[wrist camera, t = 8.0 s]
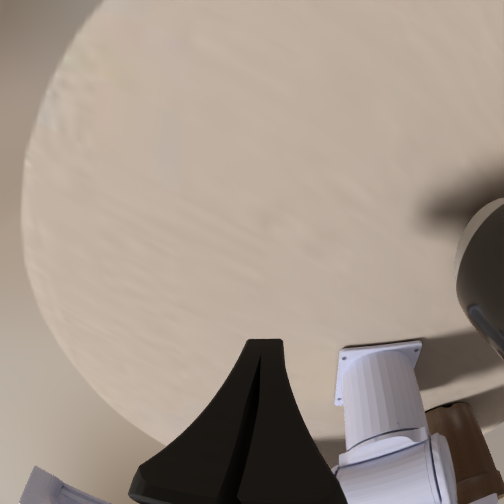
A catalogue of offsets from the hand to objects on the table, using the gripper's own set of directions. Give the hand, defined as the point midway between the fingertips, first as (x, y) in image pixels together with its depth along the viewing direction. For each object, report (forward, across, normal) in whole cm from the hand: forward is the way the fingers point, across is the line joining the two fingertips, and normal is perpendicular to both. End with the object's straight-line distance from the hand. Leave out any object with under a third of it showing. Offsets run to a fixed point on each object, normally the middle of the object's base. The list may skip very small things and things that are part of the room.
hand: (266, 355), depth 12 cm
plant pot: (+10, -21, +31) cm, 39 cm away
